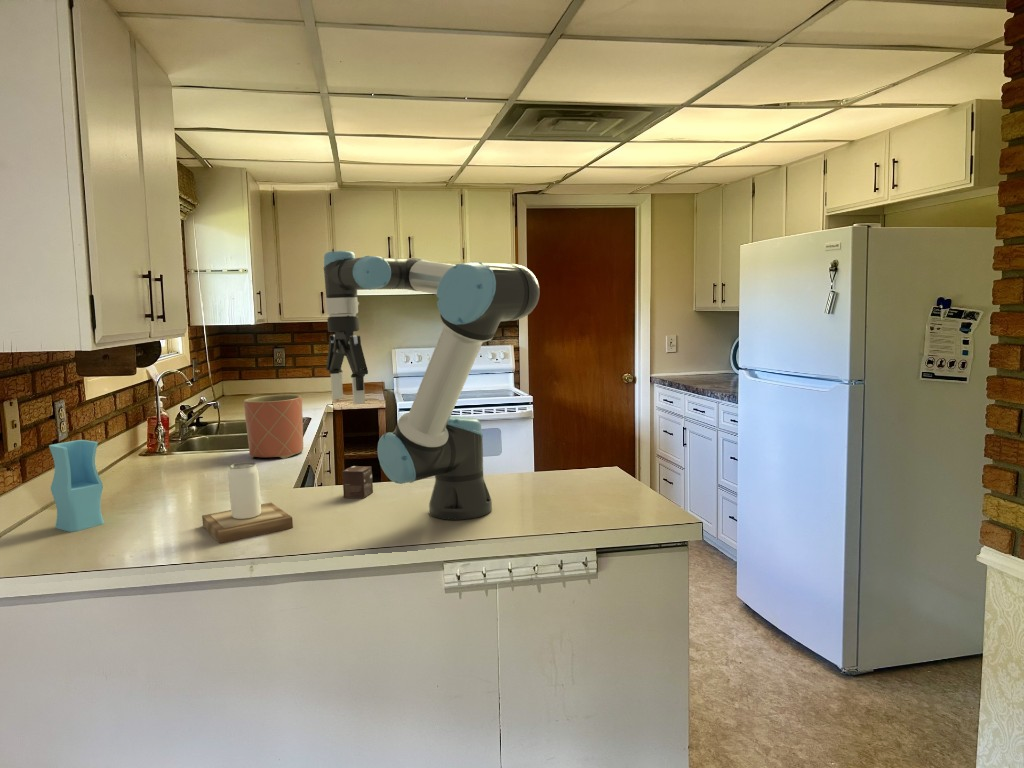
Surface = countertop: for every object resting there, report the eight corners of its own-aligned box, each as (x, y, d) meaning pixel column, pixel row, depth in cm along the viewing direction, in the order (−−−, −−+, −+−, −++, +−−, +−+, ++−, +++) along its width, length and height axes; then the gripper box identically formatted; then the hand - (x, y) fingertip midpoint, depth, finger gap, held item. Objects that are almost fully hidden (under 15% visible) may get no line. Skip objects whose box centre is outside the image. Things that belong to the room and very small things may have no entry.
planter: (236, 460, 234) (232, 402, 232) (265, 449, 253) (261, 394, 250) (289, 461, 231) (285, 401, 229) (314, 449, 250) (311, 394, 247)
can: (267, 512, 162) (263, 462, 161) (246, 521, 156) (242, 469, 155) (247, 510, 165) (242, 461, 163) (225, 518, 159) (221, 467, 158)
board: (293, 527, 159) (292, 516, 159) (219, 543, 150) (218, 531, 150) (271, 512, 172) (270, 501, 172) (202, 525, 163) (202, 514, 162)
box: (364, 498, 182) (362, 471, 181) (343, 498, 183) (341, 471, 182) (373, 492, 188) (372, 466, 187) (352, 492, 189) (351, 465, 188)
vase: (71, 532, 161) (62, 448, 159) (55, 527, 165) (45, 445, 163) (106, 523, 168) (98, 441, 165) (89, 518, 172) (81, 439, 170)
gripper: (378, 314, 162) (383, 404, 164) (338, 315, 182) (343, 395, 184) (348, 315, 158) (354, 407, 160) (310, 316, 178) (315, 398, 180)
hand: (348, 401), depth 172 cm, fingers open, 13 cm apart
